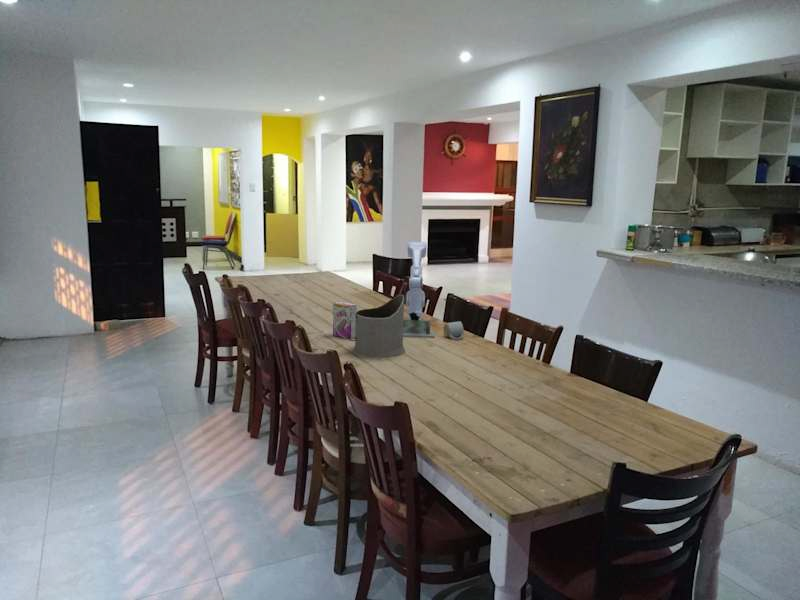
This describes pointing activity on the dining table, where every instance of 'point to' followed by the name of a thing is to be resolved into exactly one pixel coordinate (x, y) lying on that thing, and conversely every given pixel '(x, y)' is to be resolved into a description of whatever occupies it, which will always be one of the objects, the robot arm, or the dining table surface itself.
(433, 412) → the dining table surface
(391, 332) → the pitcher
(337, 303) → the candy bar box
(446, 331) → the ceramic mug
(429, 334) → the gate base
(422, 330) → the gate
